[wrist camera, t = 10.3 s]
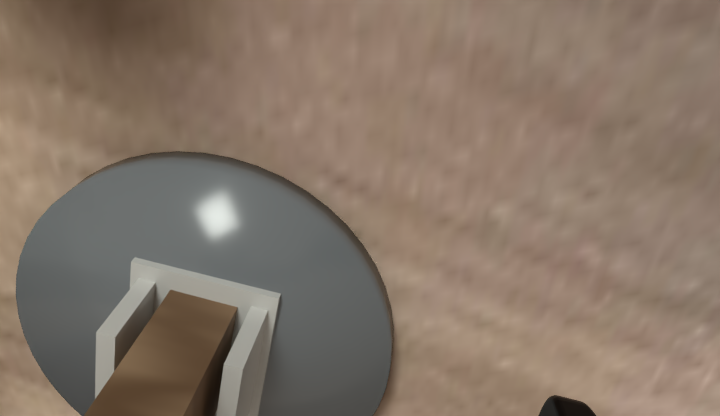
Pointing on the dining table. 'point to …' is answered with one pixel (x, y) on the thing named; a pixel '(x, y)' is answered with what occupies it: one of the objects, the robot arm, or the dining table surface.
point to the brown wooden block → (172, 362)
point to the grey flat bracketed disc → (208, 284)
